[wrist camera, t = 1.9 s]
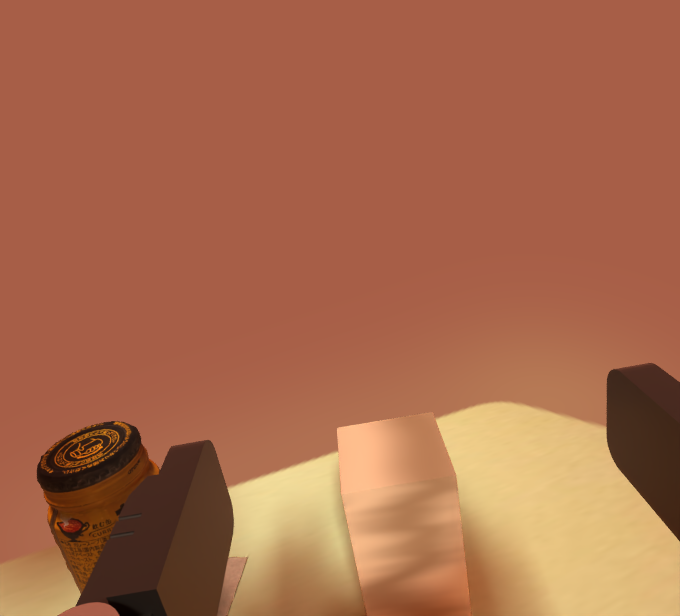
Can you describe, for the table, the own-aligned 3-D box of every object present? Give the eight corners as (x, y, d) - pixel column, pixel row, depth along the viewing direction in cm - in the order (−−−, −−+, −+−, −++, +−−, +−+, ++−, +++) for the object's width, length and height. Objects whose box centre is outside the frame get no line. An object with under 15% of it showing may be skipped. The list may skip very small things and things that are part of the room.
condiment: (131, 561, 36) (69, 413, 32) (248, 559, 35) (200, 403, 31) (67, 668, 30) (-22, 500, 25) (208, 671, 28) (139, 492, 24)
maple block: (377, 666, 27) (341, 494, 23) (368, 582, 32) (337, 427, 28) (475, 650, 27) (455, 475, 23) (451, 569, 31) (432, 411, 27)
